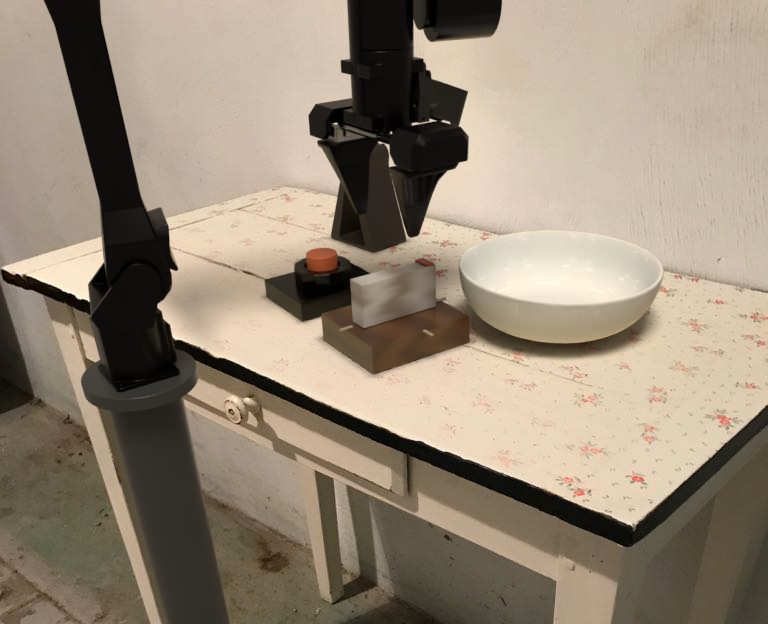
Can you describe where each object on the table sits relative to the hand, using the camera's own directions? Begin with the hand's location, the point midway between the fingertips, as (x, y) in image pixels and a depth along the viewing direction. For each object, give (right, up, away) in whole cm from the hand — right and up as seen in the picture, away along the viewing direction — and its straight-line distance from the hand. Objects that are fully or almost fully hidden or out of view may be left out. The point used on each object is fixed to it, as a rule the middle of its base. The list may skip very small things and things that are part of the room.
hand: (386, 224), depth 82 cm
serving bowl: (+18, -8, +7) cm, 21 cm away
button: (-7, 0, +13) cm, 15 cm away
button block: (-7, -3, +15) cm, 17 cm away
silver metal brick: (+1, -8, +3) cm, 9 cm away
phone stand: (-2, +9, +31) cm, 33 cm away
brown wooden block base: (+1, -11, +5) cm, 12 cm away
